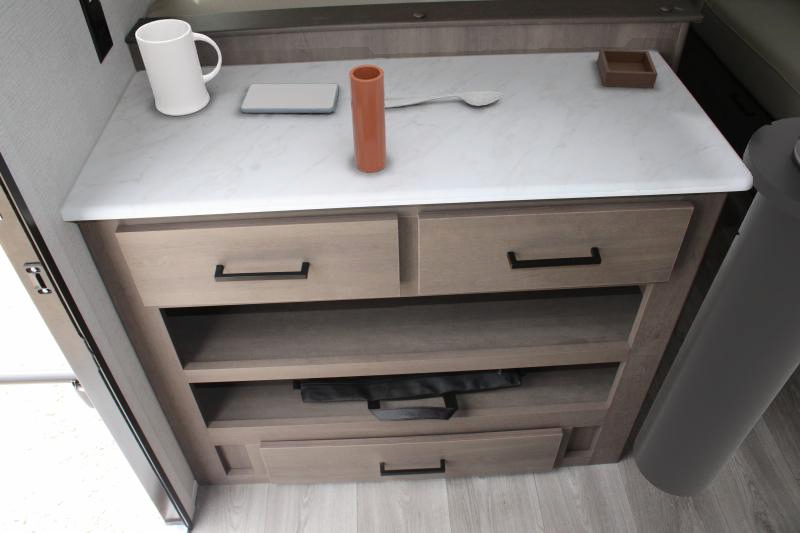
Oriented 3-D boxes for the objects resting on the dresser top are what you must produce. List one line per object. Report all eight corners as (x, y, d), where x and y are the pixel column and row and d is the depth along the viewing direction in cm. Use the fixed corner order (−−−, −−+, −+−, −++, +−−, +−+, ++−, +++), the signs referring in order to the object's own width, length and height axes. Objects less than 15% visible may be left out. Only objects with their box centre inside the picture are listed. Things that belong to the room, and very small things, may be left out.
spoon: (502, 109, 100) (503, 99, 99) (372, 112, 100) (372, 103, 99) (498, 95, 103) (499, 86, 102) (372, 98, 103) (371, 89, 102)
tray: (644, 64, 110) (648, 50, 108) (653, 88, 104) (657, 73, 103) (596, 63, 111) (599, 49, 109) (603, 86, 105) (606, 72, 103)
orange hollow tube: (387, 155, 92) (385, 65, 82) (384, 173, 88) (381, 82, 79) (357, 153, 92) (351, 64, 82) (353, 172, 89) (346, 80, 79)
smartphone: (249, 82, 105) (339, 82, 104) (251, 88, 106) (340, 87, 105) (238, 109, 99) (333, 109, 98) (240, 114, 100) (334, 114, 99)
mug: (227, 83, 107) (212, 12, 98) (232, 108, 101) (216, 36, 93) (155, 93, 105) (133, 22, 96) (156, 119, 99) (132, 46, 90)
